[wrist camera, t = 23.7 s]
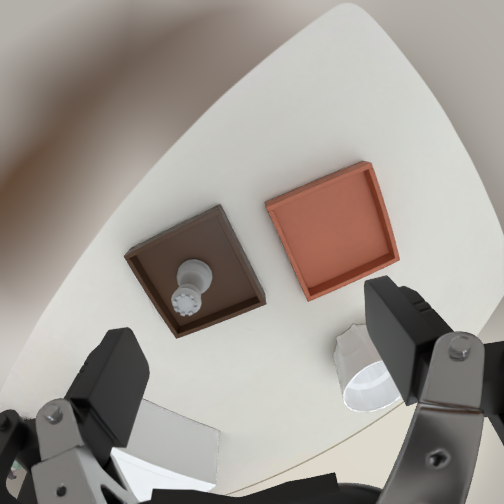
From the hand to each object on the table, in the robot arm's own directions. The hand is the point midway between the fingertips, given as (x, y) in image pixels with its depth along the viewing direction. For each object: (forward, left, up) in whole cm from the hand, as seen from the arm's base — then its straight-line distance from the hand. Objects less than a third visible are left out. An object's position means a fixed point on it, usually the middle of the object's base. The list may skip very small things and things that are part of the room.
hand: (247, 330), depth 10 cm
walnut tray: (+7, -10, -28) cm, 31 cm away
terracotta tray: (+9, +8, -28) cm, 31 cm away
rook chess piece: (+7, -10, -28) cm, 30 cm away
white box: (+41, -47, -28) cm, 68 cm away
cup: (+28, +6, -28) cm, 40 cm away
